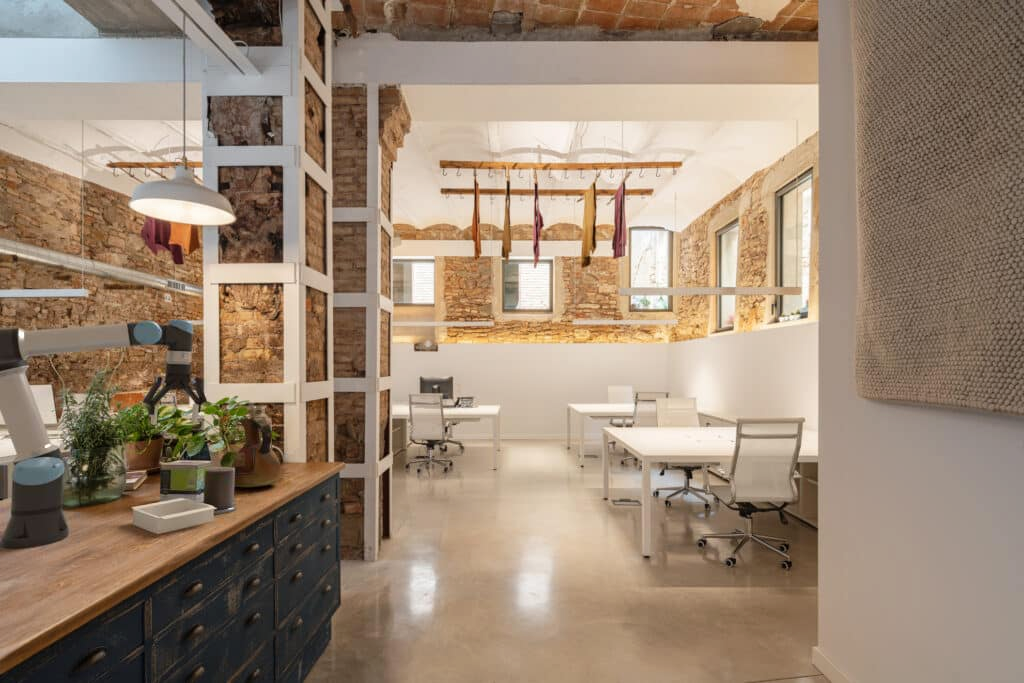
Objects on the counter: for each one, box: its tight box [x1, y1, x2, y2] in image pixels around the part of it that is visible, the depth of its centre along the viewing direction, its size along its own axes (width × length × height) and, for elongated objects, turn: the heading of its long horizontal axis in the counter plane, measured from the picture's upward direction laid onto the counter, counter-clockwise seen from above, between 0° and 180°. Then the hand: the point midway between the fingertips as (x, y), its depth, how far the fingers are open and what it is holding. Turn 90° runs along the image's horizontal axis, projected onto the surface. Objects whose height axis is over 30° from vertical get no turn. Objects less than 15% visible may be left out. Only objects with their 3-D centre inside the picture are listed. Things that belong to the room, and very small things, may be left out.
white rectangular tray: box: [130, 498, 217, 535], centre depth 184 cm, size 17×23×5 cm
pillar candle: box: [202, 465, 235, 511], centre depth 200 cm, size 10×10×15 cm
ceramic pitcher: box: [230, 416, 282, 488], centre depth 238 cm, size 20×20×30 cm
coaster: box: [214, 503, 238, 516], centre depth 200 cm, size 12×12×1 cm
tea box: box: [159, 460, 214, 503], centre depth 213 cm, size 15×10×15 cm, turn 84°
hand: (174, 423), depth 197 cm, fingers open, 13 cm apart
